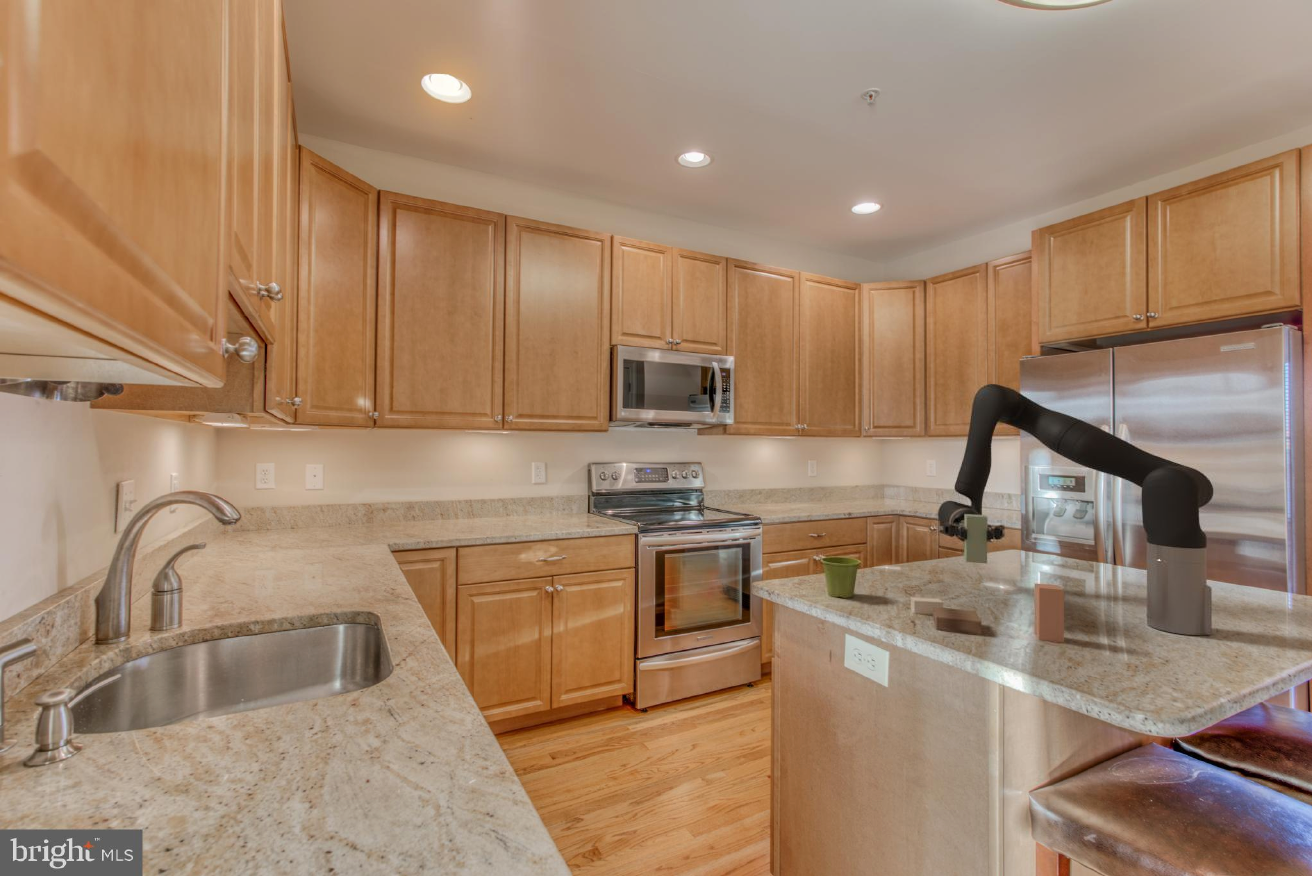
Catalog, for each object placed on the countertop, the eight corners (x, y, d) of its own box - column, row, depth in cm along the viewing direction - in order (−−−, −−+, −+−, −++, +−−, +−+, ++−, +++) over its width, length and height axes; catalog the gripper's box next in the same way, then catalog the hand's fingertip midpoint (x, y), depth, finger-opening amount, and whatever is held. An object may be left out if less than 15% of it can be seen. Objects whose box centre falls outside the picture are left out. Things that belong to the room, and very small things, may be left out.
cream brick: (939, 612, 133) (939, 598, 133) (943, 615, 130) (943, 602, 130) (910, 610, 134) (910, 597, 134) (914, 614, 131) (914, 600, 131)
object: (838, 601, 140) (839, 565, 140) (812, 592, 148) (812, 558, 148) (868, 597, 144) (869, 562, 144) (841, 589, 152) (841, 555, 152)
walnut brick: (975, 625, 124) (975, 610, 124) (981, 636, 116) (981, 621, 116) (933, 620, 127) (933, 606, 127) (936, 631, 119) (936, 617, 119)
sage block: (984, 559, 131) (984, 515, 131) (987, 563, 128) (987, 517, 128) (964, 558, 133) (964, 514, 133) (966, 561, 129) (966, 516, 129)
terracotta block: (1058, 636, 116) (1058, 585, 116) (1063, 642, 112) (1063, 589, 112) (1034, 633, 117) (1034, 583, 117) (1039, 639, 114) (1039, 587, 114)
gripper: (935, 507, 146) (941, 516, 130) (1001, 510, 141) (1015, 520, 125) (935, 538, 146) (940, 550, 130) (1000, 542, 141) (1015, 555, 125)
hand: (977, 535), depth 128 cm, fingers closed on sage block, 4 cm apart
